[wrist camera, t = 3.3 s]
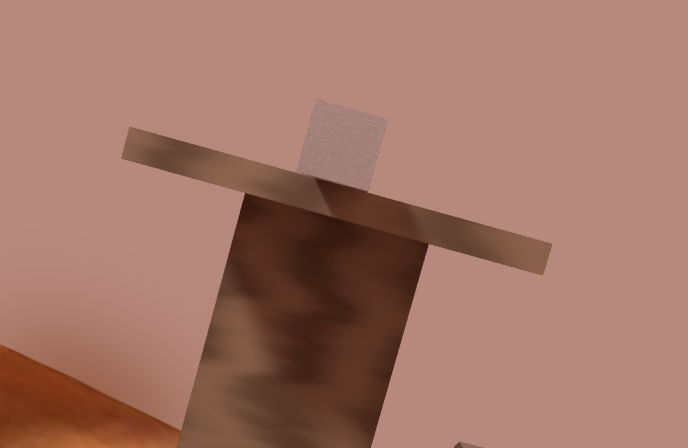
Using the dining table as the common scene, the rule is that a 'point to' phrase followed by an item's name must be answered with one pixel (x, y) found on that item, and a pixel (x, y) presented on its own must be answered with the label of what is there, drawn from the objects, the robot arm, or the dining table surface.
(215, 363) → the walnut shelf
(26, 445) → the dining table surface
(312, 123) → the bar
